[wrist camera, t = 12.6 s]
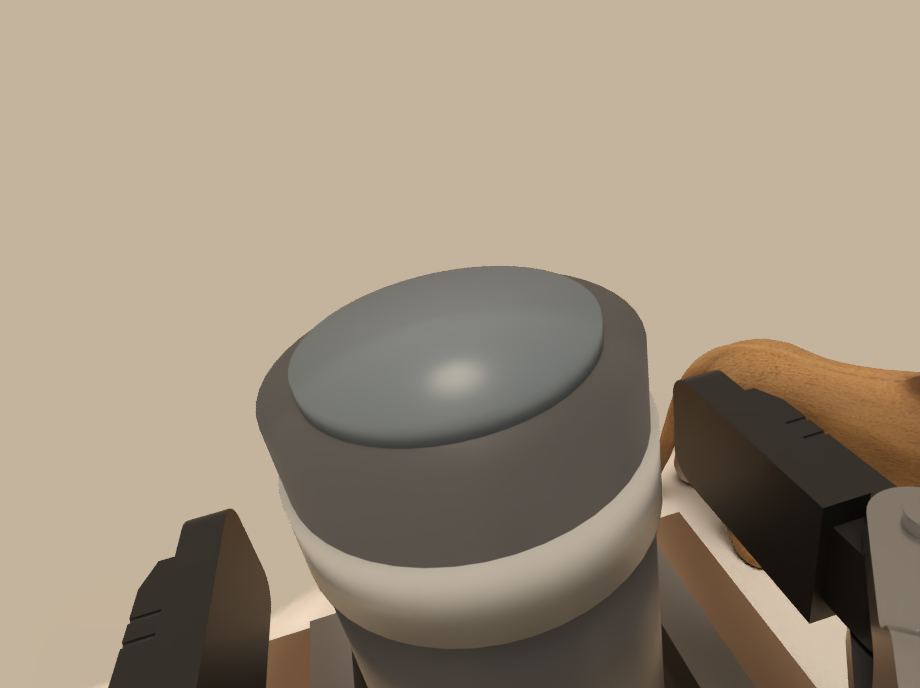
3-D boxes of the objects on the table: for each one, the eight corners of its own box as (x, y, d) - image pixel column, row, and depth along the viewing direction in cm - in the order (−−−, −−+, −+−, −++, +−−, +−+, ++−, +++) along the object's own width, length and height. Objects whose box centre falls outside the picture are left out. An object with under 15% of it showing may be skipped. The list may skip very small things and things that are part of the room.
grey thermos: (612, 674, 16) (561, 225, 11) (730, 921, 12) (753, 372, 6) (419, 740, 16) (255, 304, 10) (465, 1025, 11) (212, 531, 6)
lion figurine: (1133, 517, 19) (1256, 231, 15) (1233, 681, 15) (1446, 348, 10) (630, 460, 25) (615, 247, 21) (602, 562, 21) (575, 324, 17)
